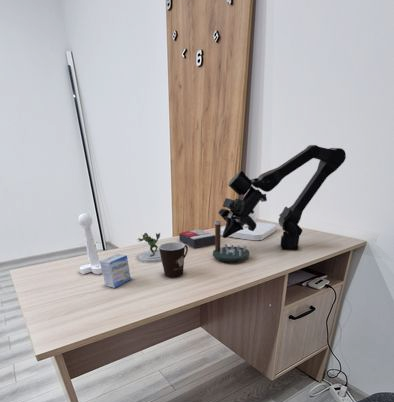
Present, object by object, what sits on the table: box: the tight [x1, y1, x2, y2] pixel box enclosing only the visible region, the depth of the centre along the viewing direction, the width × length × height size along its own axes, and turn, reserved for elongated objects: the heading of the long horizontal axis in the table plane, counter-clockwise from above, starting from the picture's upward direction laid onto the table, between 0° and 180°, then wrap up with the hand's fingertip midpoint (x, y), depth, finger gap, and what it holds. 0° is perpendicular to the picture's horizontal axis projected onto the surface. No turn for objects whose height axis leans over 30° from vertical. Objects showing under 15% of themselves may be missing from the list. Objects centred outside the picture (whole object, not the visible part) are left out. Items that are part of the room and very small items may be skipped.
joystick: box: [77, 213, 103, 275], centre depth 104 cm, size 11×8×20 cm
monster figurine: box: [136, 232, 162, 263], centre depth 118 cm, size 12×12×10 cm
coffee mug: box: [158, 241, 189, 279], centre depth 102 cm, size 12×9×10 cm
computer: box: [220, 221, 277, 241], centre depth 145 cm, size 22×22×3 cm
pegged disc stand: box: [212, 220, 251, 261], centre depth 112 cm, size 14×14×12 cm
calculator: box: [178, 229, 215, 249], centre depth 135 cm, size 11×4×15 cm
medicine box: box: [99, 253, 132, 289], centre depth 97 cm, size 8×4×9 cm, turn 148°
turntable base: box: [217, 259, 245, 264], centre depth 116 cm, size 10×10×1 cm
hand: (223, 237), depth 116 cm, fingers closed
